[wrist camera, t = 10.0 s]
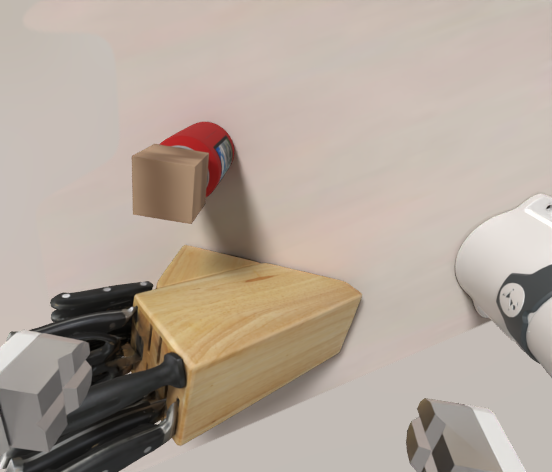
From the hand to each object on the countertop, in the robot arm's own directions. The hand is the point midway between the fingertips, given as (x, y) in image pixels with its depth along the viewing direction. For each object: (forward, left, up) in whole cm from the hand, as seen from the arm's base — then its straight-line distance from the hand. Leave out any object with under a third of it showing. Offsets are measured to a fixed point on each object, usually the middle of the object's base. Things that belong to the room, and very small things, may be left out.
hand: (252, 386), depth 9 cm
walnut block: (+9, +4, -26) cm, 28 cm away
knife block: (+4, +23, -38) cm, 45 cm away
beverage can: (+9, +4, -38) cm, 40 cm away
